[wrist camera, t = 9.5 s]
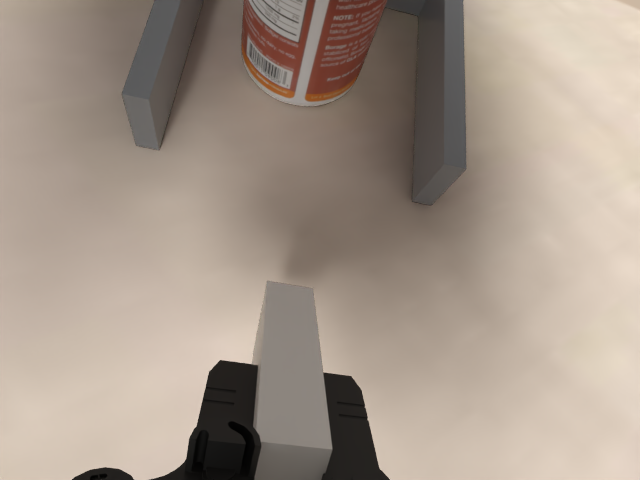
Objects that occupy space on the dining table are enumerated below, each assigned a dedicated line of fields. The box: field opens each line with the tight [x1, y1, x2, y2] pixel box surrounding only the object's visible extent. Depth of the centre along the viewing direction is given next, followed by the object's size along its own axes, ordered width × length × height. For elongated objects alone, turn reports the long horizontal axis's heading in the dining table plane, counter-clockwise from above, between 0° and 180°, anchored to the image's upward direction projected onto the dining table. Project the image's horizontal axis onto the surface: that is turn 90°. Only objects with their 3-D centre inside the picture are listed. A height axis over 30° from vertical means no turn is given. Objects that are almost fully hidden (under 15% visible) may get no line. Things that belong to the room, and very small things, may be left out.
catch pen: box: [122, 0, 466, 205], centre depth 23 cm, size 14×14×4 cm
